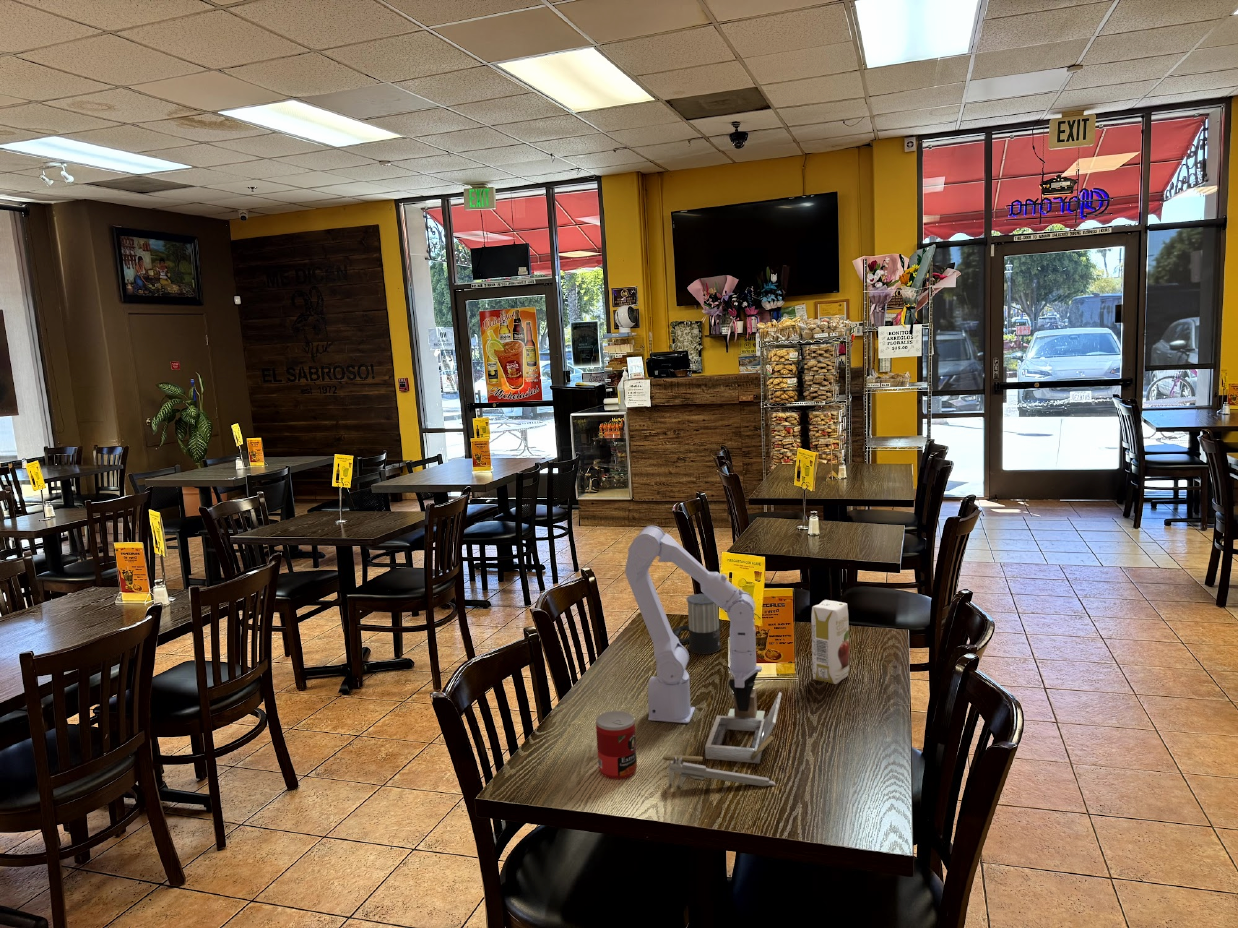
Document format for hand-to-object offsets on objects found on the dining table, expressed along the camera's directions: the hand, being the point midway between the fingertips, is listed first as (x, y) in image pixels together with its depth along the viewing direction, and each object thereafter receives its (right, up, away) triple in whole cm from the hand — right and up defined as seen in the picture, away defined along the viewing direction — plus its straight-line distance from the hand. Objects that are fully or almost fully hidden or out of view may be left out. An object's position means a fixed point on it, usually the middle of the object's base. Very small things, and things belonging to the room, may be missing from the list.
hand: (744, 705), depth 188 cm
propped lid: (+3, -4, -14) cm, 15 cm away
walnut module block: (0, -2, 0) cm, 2 cm away
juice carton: (+25, +1, +21) cm, 33 cm away
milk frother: (-7, +3, +49) cm, 50 cm away
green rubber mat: (0, -3, 0) cm, 3 cm away
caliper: (-9, -8, -28) cm, 30 cm away
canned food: (-29, -7, -20) cm, 36 cm away
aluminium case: (-3, -5, -12) cm, 13 cm away
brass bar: (-15, -7, -17) cm, 23 cm away
